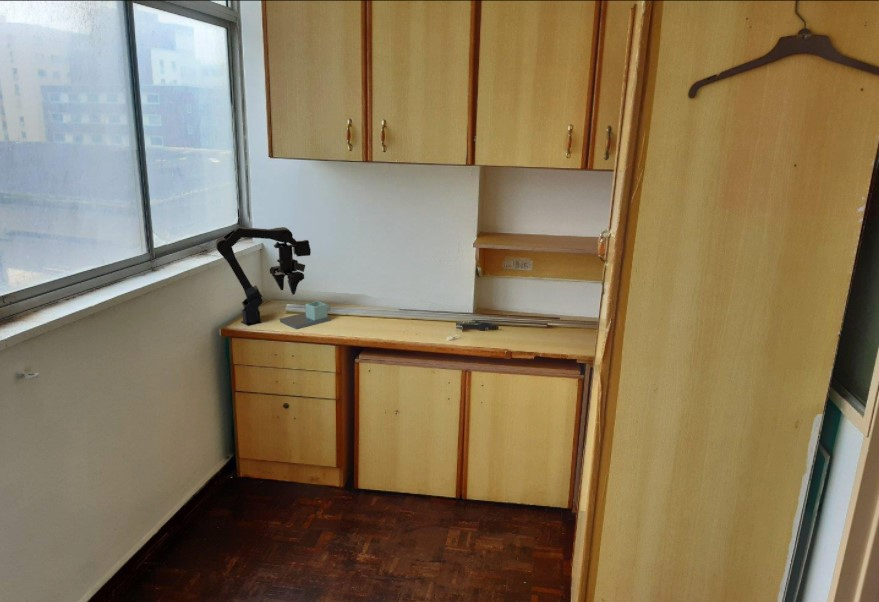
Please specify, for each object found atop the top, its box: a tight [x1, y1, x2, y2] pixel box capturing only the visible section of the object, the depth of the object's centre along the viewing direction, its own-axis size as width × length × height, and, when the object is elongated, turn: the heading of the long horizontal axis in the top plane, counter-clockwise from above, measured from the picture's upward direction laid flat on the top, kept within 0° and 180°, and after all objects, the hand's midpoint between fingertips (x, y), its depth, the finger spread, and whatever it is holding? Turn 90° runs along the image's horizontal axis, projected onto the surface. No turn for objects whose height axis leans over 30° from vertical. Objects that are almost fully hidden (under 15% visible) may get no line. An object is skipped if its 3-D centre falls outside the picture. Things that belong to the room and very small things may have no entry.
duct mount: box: [279, 305, 331, 330], centre depth 279 cm, size 17×13×6 cm
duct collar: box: [305, 300, 331, 321], centre depth 281 cm, size 7×10×6 cm
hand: (287, 292), depth 280 cm, fingers open, 9 cm apart
